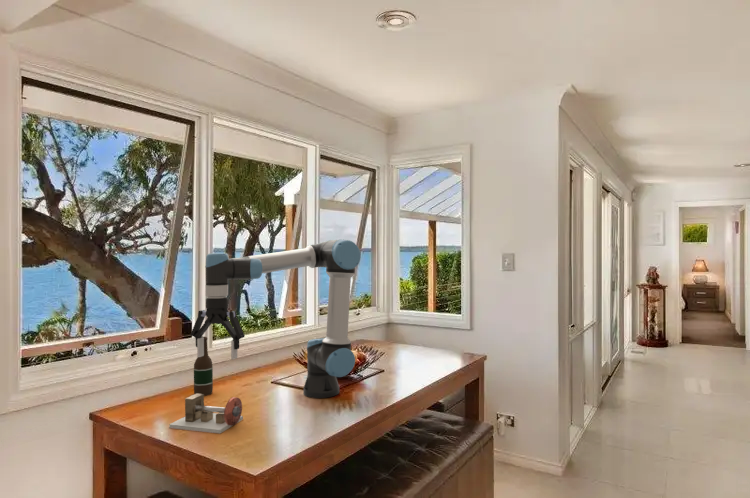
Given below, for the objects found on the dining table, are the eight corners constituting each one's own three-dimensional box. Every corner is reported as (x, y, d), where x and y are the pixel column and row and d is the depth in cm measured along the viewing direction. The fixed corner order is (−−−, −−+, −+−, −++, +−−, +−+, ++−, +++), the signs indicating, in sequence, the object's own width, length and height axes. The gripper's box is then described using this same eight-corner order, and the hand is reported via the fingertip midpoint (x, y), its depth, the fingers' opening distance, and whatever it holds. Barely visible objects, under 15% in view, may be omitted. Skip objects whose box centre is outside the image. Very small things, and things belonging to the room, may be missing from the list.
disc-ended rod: (244, 420, 172) (244, 394, 172) (230, 429, 163) (229, 402, 163) (195, 415, 177) (195, 390, 178) (178, 424, 169) (178, 397, 169)
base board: (242, 419, 175) (242, 415, 175) (220, 433, 161) (220, 429, 161) (195, 414, 180) (195, 411, 180) (169, 427, 167) (169, 424, 167)
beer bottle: (206, 396, 202) (206, 339, 202) (189, 395, 204) (189, 338, 204) (216, 391, 210) (216, 335, 210) (200, 390, 211) (199, 335, 212)
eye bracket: (230, 418, 172) (229, 396, 172) (219, 425, 166) (219, 401, 166) (196, 415, 176) (196, 393, 176) (185, 421, 170) (185, 398, 170)
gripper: (254, 296, 171) (254, 357, 171) (193, 295, 178) (193, 353, 178) (242, 298, 164) (242, 361, 164) (179, 297, 171) (180, 357, 171)
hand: (217, 357), depth 171 cm, fingers open, 13 cm apart
